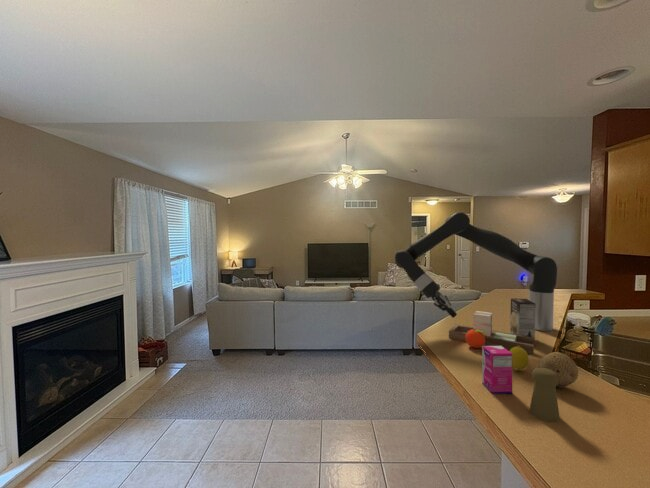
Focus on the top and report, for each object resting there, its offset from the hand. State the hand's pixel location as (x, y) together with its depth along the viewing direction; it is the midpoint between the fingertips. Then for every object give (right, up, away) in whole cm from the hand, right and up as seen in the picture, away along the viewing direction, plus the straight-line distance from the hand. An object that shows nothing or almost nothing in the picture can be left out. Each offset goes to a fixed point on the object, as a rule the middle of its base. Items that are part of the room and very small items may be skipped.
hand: (455, 316), depth 132 cm
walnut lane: (+11, -8, -8) cm, 16 cm away
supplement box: (-8, -10, -46) cm, 47 cm away
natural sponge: (+10, -10, -45) cm, 47 cm away
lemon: (+5, -10, -34) cm, 36 cm away
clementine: (+2, -9, -15) cm, 17 cm away
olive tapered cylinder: (-3, -10, -58) cm, 59 cm away
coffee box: (+26, -8, -5) cm, 28 cm away
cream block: (+9, -5, -6) cm, 12 cm away
